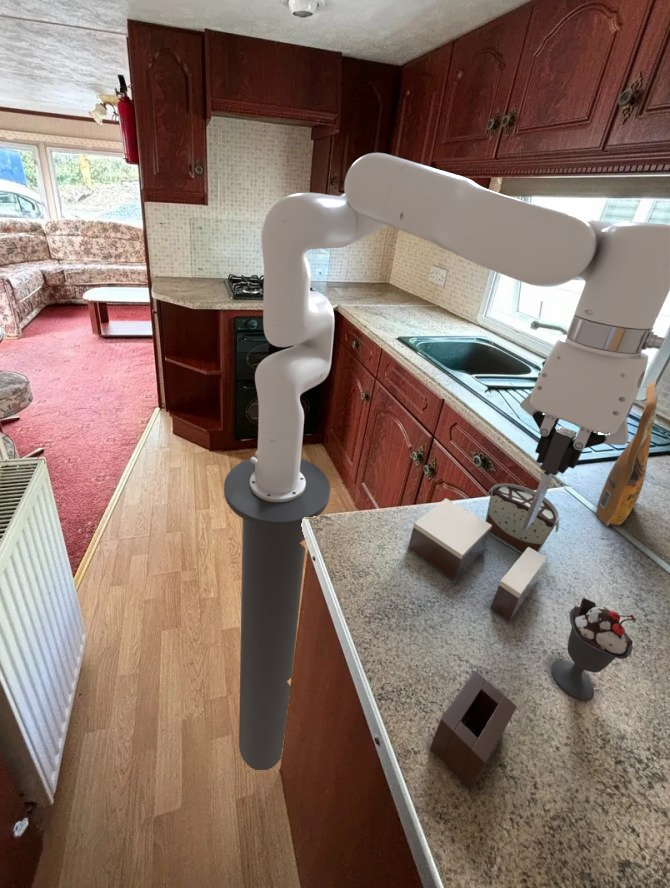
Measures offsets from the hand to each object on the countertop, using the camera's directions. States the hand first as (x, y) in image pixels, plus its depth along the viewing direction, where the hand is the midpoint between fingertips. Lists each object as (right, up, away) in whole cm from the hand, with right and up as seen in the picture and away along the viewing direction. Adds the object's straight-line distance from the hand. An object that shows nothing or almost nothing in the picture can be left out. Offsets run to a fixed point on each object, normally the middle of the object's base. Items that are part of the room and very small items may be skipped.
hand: (553, 463), depth 55 cm
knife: (-1, -10, +5) cm, 11 cm away
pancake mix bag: (+34, -16, +34) cm, 51 cm away
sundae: (+2, -29, 0) cm, 29 cm away
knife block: (-15, -31, -8) cm, 36 cm away
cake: (-7, -19, +19) cm, 28 cm away
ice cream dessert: (+7, -19, +23) cm, 31 cm away
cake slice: (+1, -24, +11) cm, 26 cm away
